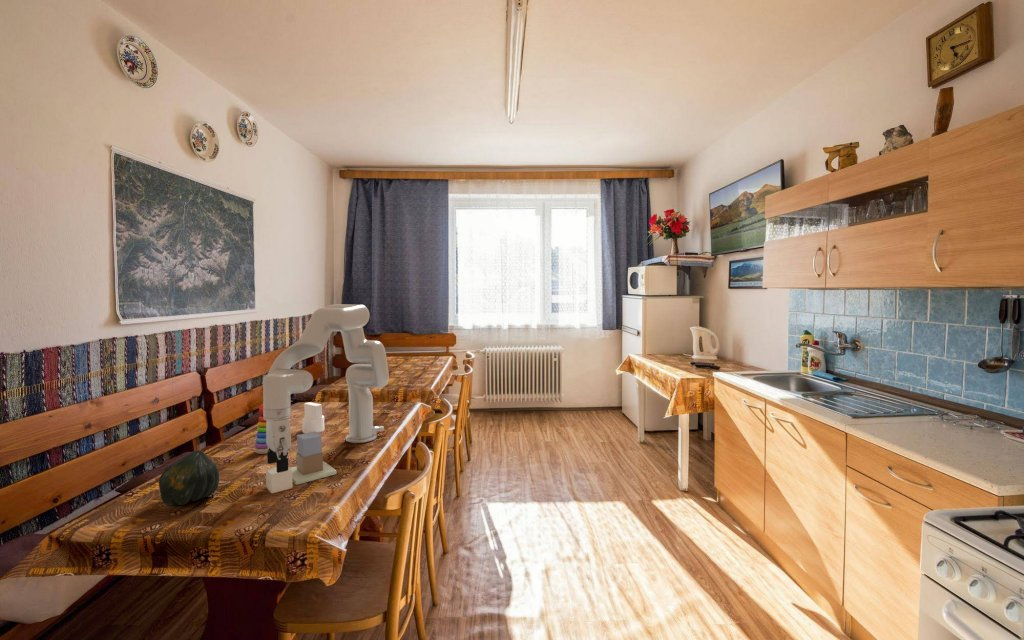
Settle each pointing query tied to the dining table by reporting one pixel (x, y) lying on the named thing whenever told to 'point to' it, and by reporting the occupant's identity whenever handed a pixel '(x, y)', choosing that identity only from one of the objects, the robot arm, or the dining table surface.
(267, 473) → the cream brick
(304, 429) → the cylinder with rectangular tab
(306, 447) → the slate brick
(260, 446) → the stacking toy
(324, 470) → the baseplate
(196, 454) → the squash
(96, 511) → the dining table surface
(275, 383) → the robot arm
